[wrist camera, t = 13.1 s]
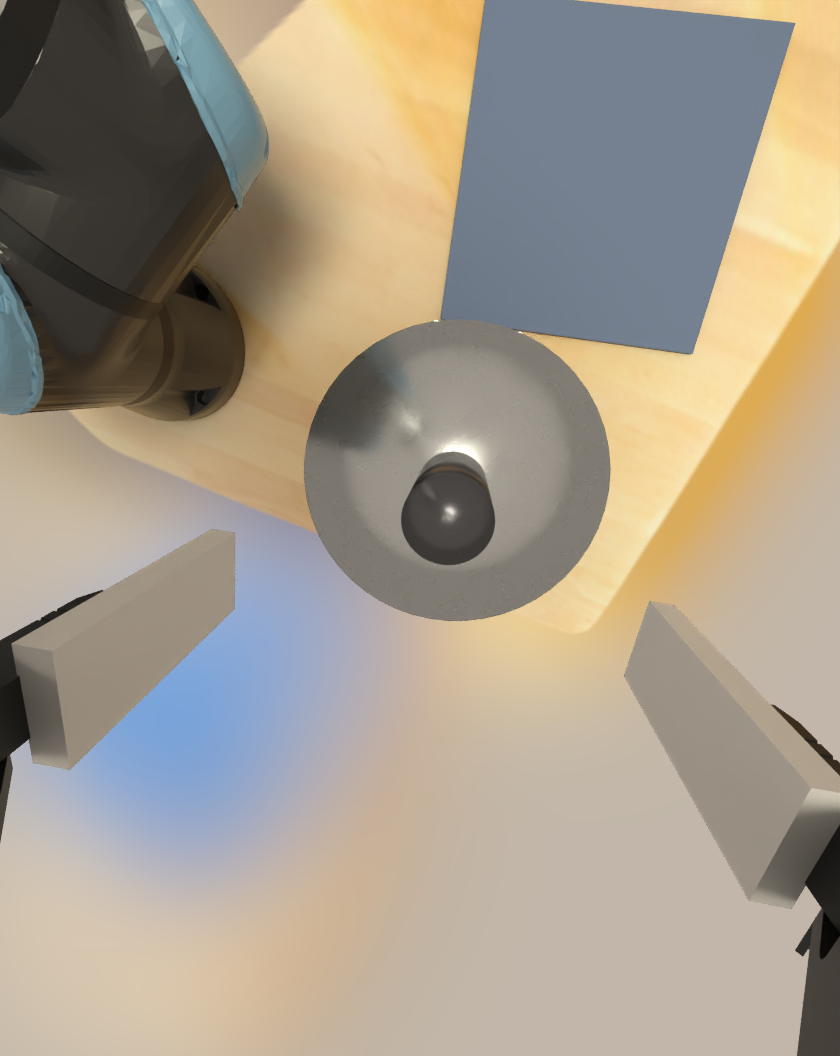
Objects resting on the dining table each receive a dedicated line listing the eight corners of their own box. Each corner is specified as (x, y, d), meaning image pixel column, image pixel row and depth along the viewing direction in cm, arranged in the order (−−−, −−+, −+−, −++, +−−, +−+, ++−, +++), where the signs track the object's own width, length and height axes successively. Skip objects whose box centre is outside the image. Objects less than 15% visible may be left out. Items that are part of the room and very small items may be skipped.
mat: (440, 319, 42) (440, 318, 41) (486, -3, 34) (486, -9, 34) (689, 354, 40) (692, 353, 40) (789, 29, 33) (795, 23, 33)
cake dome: (341, 539, 49) (244, 660, 27) (360, 325, 42) (250, 260, 21) (539, 572, 48) (600, 725, 26) (591, 358, 41) (733, 325, 19)
